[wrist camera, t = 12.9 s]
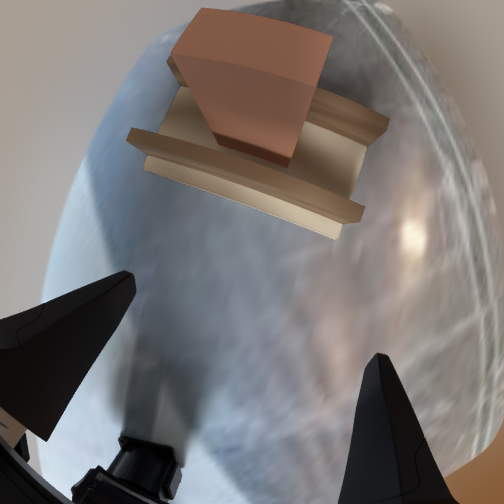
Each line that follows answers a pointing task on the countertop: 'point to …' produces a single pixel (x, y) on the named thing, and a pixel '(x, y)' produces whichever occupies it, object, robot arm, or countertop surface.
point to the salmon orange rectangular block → (252, 78)
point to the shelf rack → (265, 172)
